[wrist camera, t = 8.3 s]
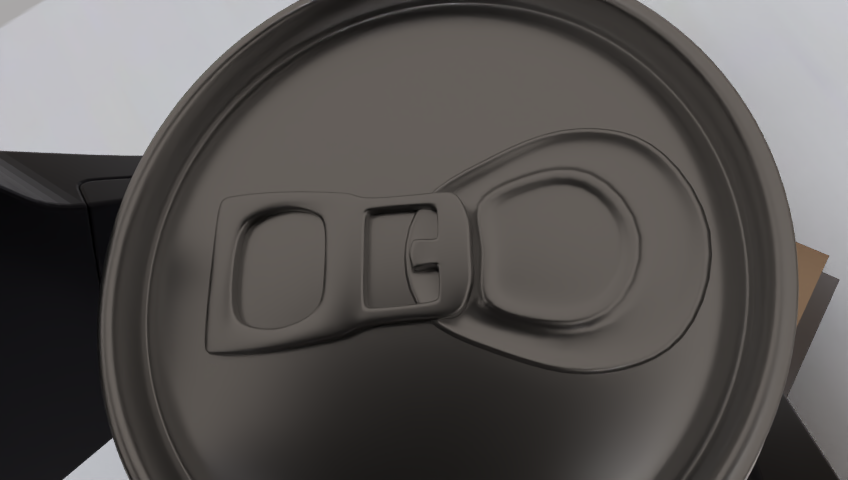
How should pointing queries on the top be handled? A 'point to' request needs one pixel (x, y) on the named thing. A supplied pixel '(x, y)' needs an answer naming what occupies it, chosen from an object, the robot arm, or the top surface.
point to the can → (451, 255)
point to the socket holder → (809, 304)
